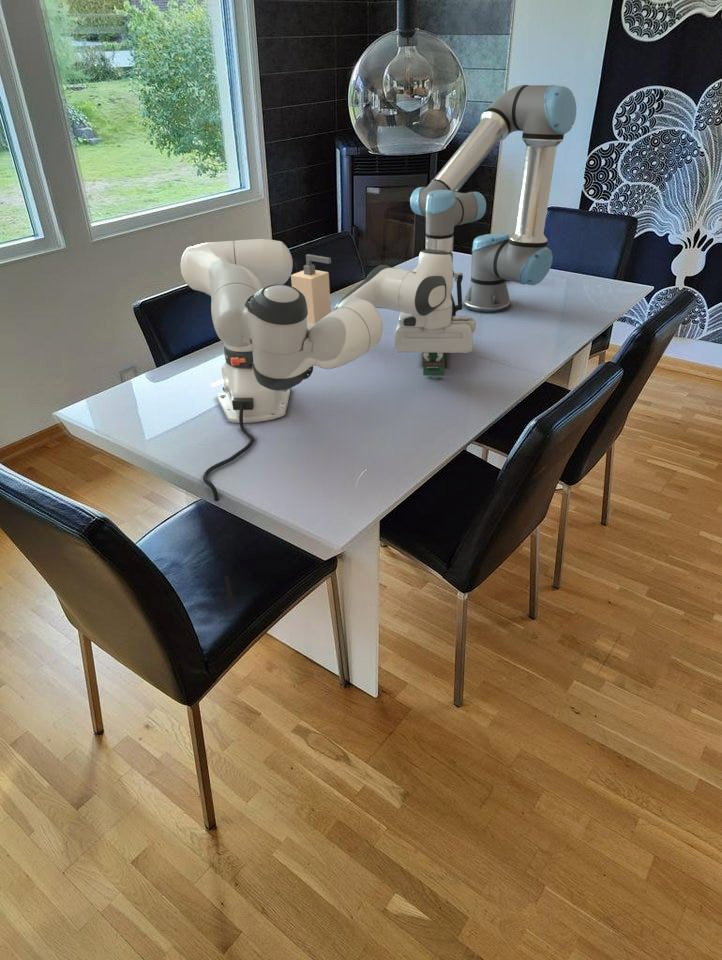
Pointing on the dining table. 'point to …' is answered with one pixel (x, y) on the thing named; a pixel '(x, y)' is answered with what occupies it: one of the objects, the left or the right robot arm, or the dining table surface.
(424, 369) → the drawer
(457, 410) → the dining table surface
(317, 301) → the soap dispenser
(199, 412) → the dining table surface
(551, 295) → the dining table surface
